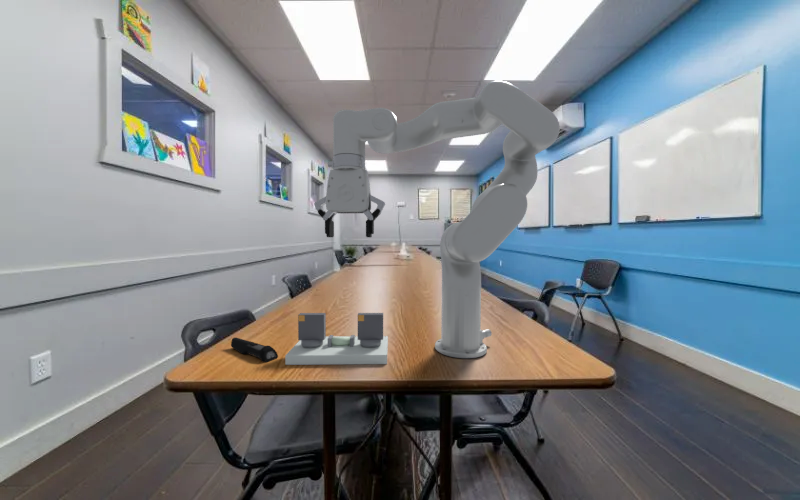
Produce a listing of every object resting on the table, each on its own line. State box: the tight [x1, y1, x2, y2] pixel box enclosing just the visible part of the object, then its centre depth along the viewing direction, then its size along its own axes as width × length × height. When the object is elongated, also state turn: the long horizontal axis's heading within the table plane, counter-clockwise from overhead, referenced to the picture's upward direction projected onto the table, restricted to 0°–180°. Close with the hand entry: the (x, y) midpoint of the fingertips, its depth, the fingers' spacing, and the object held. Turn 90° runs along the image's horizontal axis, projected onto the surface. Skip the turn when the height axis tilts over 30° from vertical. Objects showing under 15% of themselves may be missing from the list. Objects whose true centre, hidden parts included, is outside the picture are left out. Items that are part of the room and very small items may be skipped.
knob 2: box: [357, 312, 384, 347], centre depth 71 cm, size 6×5×7 cm
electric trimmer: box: [230, 337, 279, 363], centre depth 71 cm, size 4×16×3 cm, turn 57°
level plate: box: [284, 334, 389, 366], centre depth 71 cm, size 22×13×4 cm, turn 92°
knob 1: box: [297, 312, 327, 348], centre depth 71 cm, size 6×5×7 cm
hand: (349, 237), depth 71 cm, fingers open, 9 cm apart
